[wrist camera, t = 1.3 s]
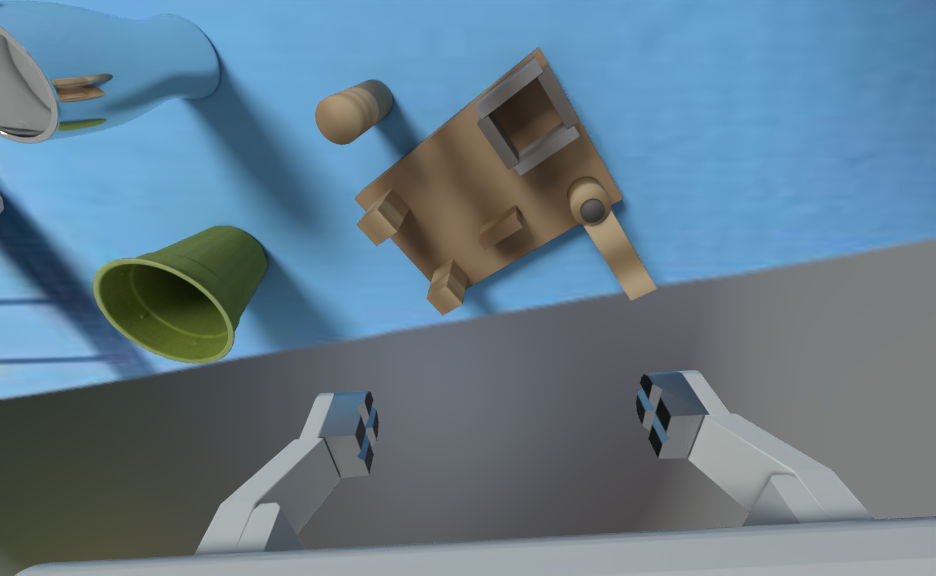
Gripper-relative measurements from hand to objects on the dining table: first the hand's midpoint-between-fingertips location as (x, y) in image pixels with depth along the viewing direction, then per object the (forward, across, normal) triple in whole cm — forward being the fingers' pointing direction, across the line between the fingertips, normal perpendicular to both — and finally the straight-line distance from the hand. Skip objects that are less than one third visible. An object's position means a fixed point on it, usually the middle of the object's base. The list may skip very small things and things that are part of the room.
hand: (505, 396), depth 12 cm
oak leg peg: (+29, +8, -6) cm, 30 cm away
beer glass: (+30, +24, -10) cm, 40 cm away
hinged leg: (+24, -12, +6) cm, 28 cm away
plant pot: (+31, +27, +9) cm, 42 cm away
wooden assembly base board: (+28, -1, +3) cm, 28 cm away
